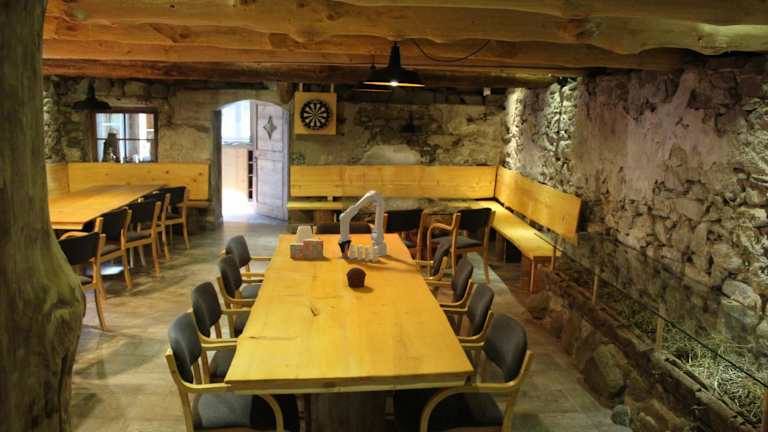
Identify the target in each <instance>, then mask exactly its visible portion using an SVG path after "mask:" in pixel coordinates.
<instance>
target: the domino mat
mask: <svg viewBox="0 0 768 432" xmlns="http://www.w3.org/2000/svg"><path fill="white" fill-rule="evenodd" d="M337 259H339V260H340V259H341V260H349V261H356V262H360V261H361V262H369V263H374V262H373V258H371V259H370V260H368V261H365V257H363V259H361V260H357V256H355V258H354V259H349V255H348V257H347V258H342V255H341V256H339V257H337ZM379 261H380V259H379V258H378V261H376V262H375V263H378V262H379Z"/></svg>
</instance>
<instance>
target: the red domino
mask: <svg viewBox="0 0 768 432" xmlns="http://www.w3.org/2000/svg"><path fill="white" fill-rule="evenodd" d="M341 256H342V258H347V257H348V256H349V251H348V244H346V247H345V253H341Z"/></svg>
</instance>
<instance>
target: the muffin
mask: <svg viewBox="0 0 768 432" xmlns="http://www.w3.org/2000/svg"><path fill="white" fill-rule="evenodd" d="M345 276H346V279H347V285H348V287H349V288H351V289H361V288H363V287H365V283H366V282H365V280H366V276H367V273H366V272H365V270H364V269H362V268H360V267H352V268H350V269H349V270H348V271H347V272H346V274H345Z"/></svg>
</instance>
